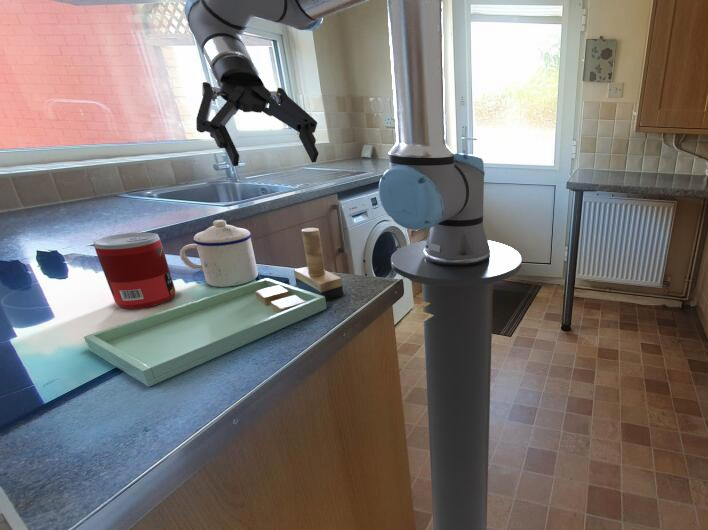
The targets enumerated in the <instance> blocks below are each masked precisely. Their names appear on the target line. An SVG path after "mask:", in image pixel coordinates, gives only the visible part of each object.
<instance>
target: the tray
mask: <svg viewBox="0 0 708 530" xmlns="http://www.w3.org/2000/svg"><path fill="white" fill-rule="evenodd" d="M277 285H280V286H282V287H283V288H285V289H286V290H288V291H289V294H290V296H293V295H296V296H298V297H299V298H301V299H302V300H304V301H306V302H305V303H303V304H300V305H298V306H295V307H293V308H290V309H288V310H285V311H283V312H280V313H278V314H277V313H276V312H274V311H273V310H272V308H271V304H270V305H267V306H266V305H264V304H263V303H262V302H260V301H259V300H258V299H257V298H256V294H255V291H257V290H261V289H265V288H269V287H273V286H277ZM324 310H327V300H326V301H325V297H324V296H321V295H318V294H315V293H312V292H309V291H306V290H303V289H301V288H299V287H297V286H293V285H290V284H288V283H284V282H281V281H278V280H275V279H272V278H269V277H265V278H262V279H259V280H255V281H251V282H248V283H245V284H242V285H239V286H237V287H233V288H231V289H228V290H225V291H221V292H218V293H215V294H212V295H209V296H206V297H203V298H199V299H196V300H194V301H190V302H186V303H184V304H180V305H178V306H174V307H171V308H168V309H165V310H162V311H159V312H155V313H153V314H149V315H147V316H144V317H143V316H142V317H140V318H136V319H134V320H131V321H127V322H124V323H122V324H118V325H115V326H112V327H109V328H106V329H102V330H99V331H96V332H94V333H89V334H87V335H84V336H83V338H84V340H85V342H86V345H87V347H88V349H89V352H91V353H93V354H94V355H96V356H98V357H100V358H101V359H103V360H104V361H106V362H108V363H109V364H111V365H112V366H114V367H115V368H118V369H119V370H121V371H122V372H124V373H126V374H127V375H129V376H130V377H132V378H134V379H135V380H136V381H138V382H140V383H142V384H144V385H145V386H146V387H148V388H150V387H152V386H154V385H157V384H159V383H161V382H164V381H166V380H167V379H170V378H173V377H175V376H177V375H179V374H181V373H184V372H187V371H189V370H190V369H192V368H195V367H198V366H199V365H202V364H204V363H207V362H209V361H210V360H214V359H216V358H218V357H220V356H222V355H225V354H227V353H229V352H232V351H234V350H236V349H238V348H240V347H243V346H245V345H247V344H250V343H252V342H254V341H257V340H259V339H261V338H263V337H265V336H268V335H270V334H272V333H275V332H277V331H279V330H281V329H283V328H286V327H289V326H291V325H293V324H295V323H297V322H300V321H302V320H304V319H307V318H309V317H311V316H313V315H315V314H318V313H320V312H322V311H324Z"/></svg>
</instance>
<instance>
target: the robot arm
mask: <svg viewBox="0 0 708 530" xmlns="http://www.w3.org/2000/svg"><path fill="white" fill-rule="evenodd" d="M366 2H370V0H187V1H186V2H185V4H184V7H183V8H184V9H183V10H184V11H183V12H184V15H185V18H186V21H187V23H188V24H187V25H188V27H189V30H190V31H191V33H192V35H193V37H194V39H195V40H196V43H197V44H198V47H199V48H200V51H201V53H202V55H203V56H204V58H205V61H206V63H207V65H208V67H209V69H210V71H211V73H212V75H213V77H214V80H215V82H216V84H217V86H218V87H215V86H212V85H211V83H209V82H206V81H204V82H202V90H201V91H202V92H201V93H202V99H201V102H200V106H199V108H198V112H197V116H196V119H195V121H196V122H195V123H196V124H195V125H196V127H195V128H196V131H197V132H198V133H205V132H206V133H209V136H210V138H212V139H214V141H215V144H216V146H217V147H218V148H219V149H225V152H226V154H227V157H228V158H229V160H230V162H231V165H232V166H233V167H239V162H240V154H239V152H238V149H237V148H236V146H235V144H234V141H233V139H232V137H231V135H230V133H229V131H228V129H227V127H226V125H227V124H228V123H229V122H230V120H231V119H232V117H233V116H235V115H237V113H238V111H242V112H243V113H258V114H259V113H260V114H262V113H264V114H266V115H267V116H269V117H273V118H275V119H277V120H279V121H280V122H281V123H283V124H285V126H288V127H290V128H291V129H293V130H294V131H297V133H298V138H299V140H300V142H301V144H302V145H303V148H304V150H305V151H306V154H307V156H308V158H309V160H310V161H311V163H317V159H318V156H319V151H318V148H317V147H316V141H317V139H316V137H315V135H314V133H316V130H317V126H318V121H317V120H316V119H315V118H314V117H312V116H311V115H310V114H309V113H308V112H307V111H306V110H304V109H303V108H302V107H301V106H300V105H299V104H297V102H295V101H294V100H293V99H292V98H291V97H290V96H288V94H287V92H286V91H285V89H284V88H282V87H277V89H276V90H274V91H273V90H272V91H271V90H270V89H268V88H267V87H265V84H264V82H263V79H262V77H261V75H260V73H259V72H258V69H257V67H256V66H255V63H254V61H253V59H252V57H251V55H250V54H249V52H248V49H247V47H246V45H245V43H244V41H243V39H242V38H243V35H244V33H245V32H246V29H247V28H248V27H249V25H250V23H251V21H252V19H253V18H256V19H258V20H259V19H260V20H263V21H267V22H272V23H275V24H279V25H283V26H286V27H291V28H294V29H296V30H298V31H309V32H312V31H313V32H314V31H316V30H318V29H319V27H320V25H321V24H322V23H323V19H324V18H327V17H330V16H332V15H335V14H337V13H338V14H339V13H341V12H343V11H346V10H348V9H351V8H352V7H353V8H354V7H356V6H359V5H362V4H364V3H366ZM386 3H387V5H386V6H387V17H388V19H387V20H388V33H389V47H390V49H389V50H390V62H391V63H390V64H391V76H392V90H393V91H392V93H393V107H394V120H395V135H396V142H395V144H394V145H393V146H392V148H390V149H389V151H388V160H389V162H388V163H389V168H388V169H387V170H386V171H385V172H384V173H383V176H382V177H380V180H379V183H378V197H379V200H380V204H381V206H382V208H383V210H384V212H385V213H386V215H387V216H388V217H390V218H391V219H392V220H393V222H394V223H395V224H397V225H399V226H400V227H402V228H405V229H408V230H411V231H418V230H419V231H421V230H423V229H429V230H428V234H427V237H426V240H427V241H426V244H425V248H424V257H425V259H426V260H427V261H429V262H431V263H433V264H436V265H441V266H448V267H467V266H474V265H479V264H482V263H484V262H486V261H488V260H489V259H490V246H489V243H488V241H489V240H488V236H487V233H486V230H485V227H484V199H485V197H484V192H485V190H484V188H485V174H486V172H485V168H484V165H485V163H484V160H483V159H482V157H480V156H478V155H475V154H465V153H457V152H453V150H452V149H450V147H449V146H448V145H447V143H446V114H445V110H446V109H445V77H444V76H445V72H444V28H443V27H444V26H443V23H444V22H443V0H386ZM218 97H221V99H223V100H224V101H225V103H224V104H223V105H222V107H221V108H220V109H219V110H218V111H217V113H215V115H214V117H212V119H211V120H209V118H210V115H211V111H212V108H213V102H216V100H217V99H218Z"/></svg>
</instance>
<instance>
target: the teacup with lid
mask: <svg viewBox="0 0 708 530" xmlns="http://www.w3.org/2000/svg"><path fill="white" fill-rule="evenodd" d="M212 224H213V225H212V226H209V227H208V228H206V229H205V230H203V231H199V232H197V233H196V234H195V235H194V236H193V240H192V242H193V243H190V244H186V245H184V246H183V247H181V249H180V251H179V256H180V259H181V261H182V263H183V264H184V265H186V266H187V267H188V268H190V269H192V270H197V271H202V272H203V276H204V279H205V282H206V284H208V285H209V286H212V287H218V288H220V287H221V288H225V287H235V286H242V285H245V284H248V283H251V282H253V281H254V280H255V279H256V278H257V277H258V276H259V272H258V266H257V262H256V257H255V253H254V248H253V243H252V233H251V231H250V230H248V229H247V228H243V227H237V226H235V225H232V224H227V221H226V220H224V219H217V220H216V219H215V220H213V222H212ZM191 249H194V250H195V249H196V251H197V253H198V257H199V260H200V264H196V263H193V262H192V261H191V260H190V259H189V258H188V256H187V253H186V252H187V250H191Z"/></svg>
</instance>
